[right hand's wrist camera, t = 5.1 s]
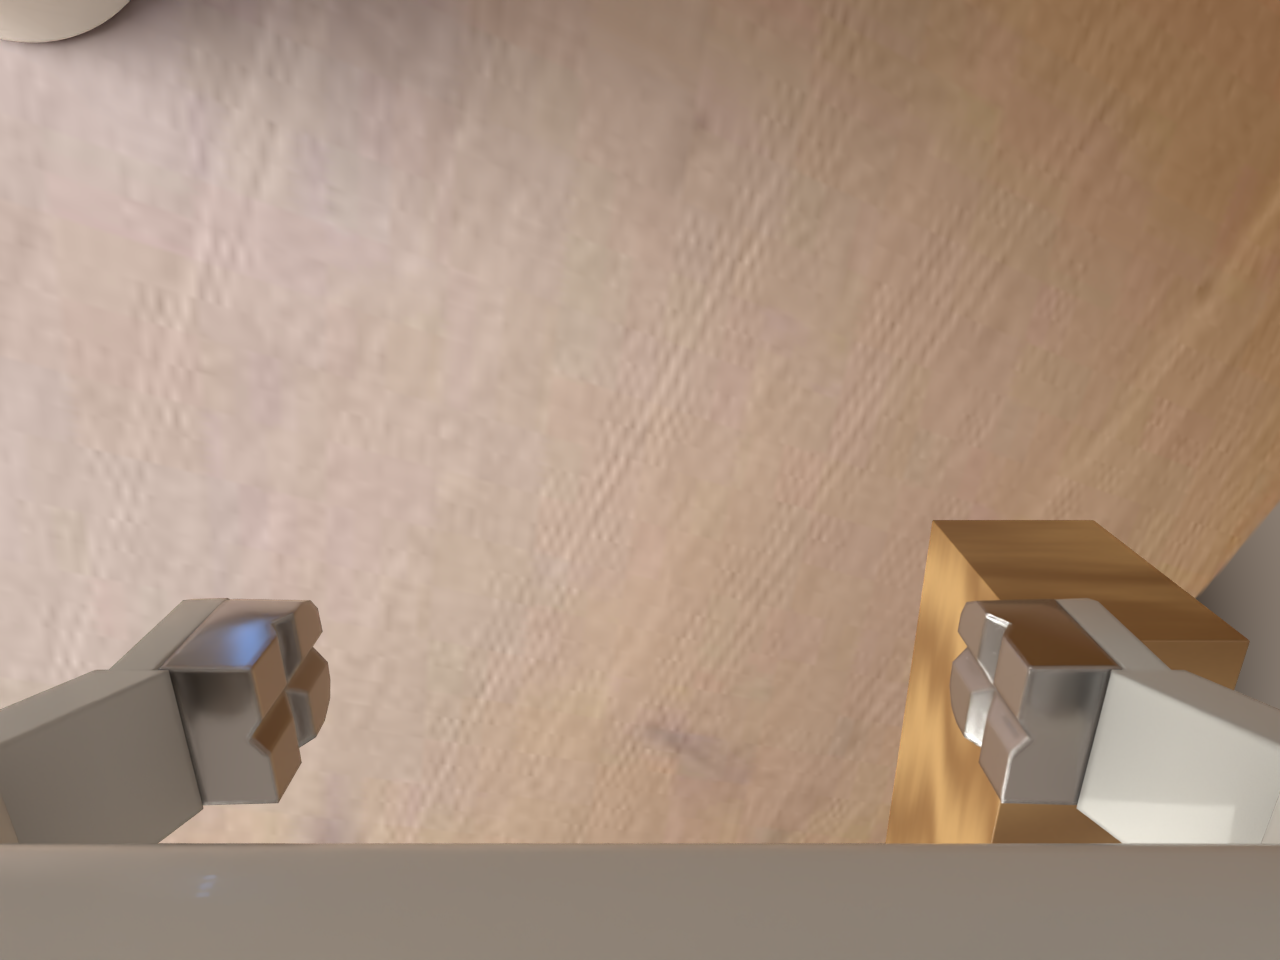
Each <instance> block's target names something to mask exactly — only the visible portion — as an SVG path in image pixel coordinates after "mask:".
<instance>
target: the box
mask: <svg viewBox="0 0 1280 960" xmlns="http://www.w3.org/2000/svg"><path fill="white" fill-rule="evenodd" d="M1071 598H1089V599H1093V600H1096V601H1098V602H1099V603H1101V604H1102V605H1103V606H1104V607H1105V608H1106V609H1107V610H1108V611H1109V612H1110V613H1111V614H1112V615H1113V616H1114V617H1115V618H1117V619H1118V620H1119V621H1120V622H1121V623H1122V624H1123V625H1124V626H1125V627H1126V628H1127V629H1128V630H1129V631H1130V632H1131V633H1133V634H1134V635H1135V636H1136V637H1137V638H1138V639H1139V640H1140V641H1141V642H1142V643H1143V644H1144V645H1145V646H1146V647H1147V648H1149V649H1150V650H1151V651H1152V652H1153V653H1154V654H1155V655H1156V656H1157V657H1158V658H1159V659H1160V660H1161V661H1162V662H1163V663H1165V664H1166V665H1167V666H1168V667H1169V668H1170V669H1171V670H1186V671H1188V672H1191V673H1193V674H1196V675H1198V676H1200V677H1203V678H1205V679H1208V680H1210V681H1212V682H1215V683H1217V684H1220V685H1222V686H1224V687H1227V688H1229V689H1232V690H1234V689H1235V686H1236V683H1237V680H1238V676H1239V673H1240V670H1241V667H1242V664H1243V661H1244V658H1245V655H1246V652H1247V649H1248V645H1249V642H1250V641H1249V640H1248V639H1247V638H1245V637H1244V636H1243V635H1242V634H1240V633H1239V632H1238V631H1236V630H1235V629H1234V628H1232V627H1231V626H1230V625H1229V624H1227V623H1226V622H1225V621H1223V620H1222V619H1221V618H1220V617H1218V616H1217V615H1216V614H1214V613H1213V612H1212V611H1210V610H1209V609H1208V608H1207V607H1205V606H1204V605H1203V604H1201V603H1200V602H1199V601H1197V600H1196V599H1195V598H1194V597H1192V596H1191V595H1190V594H1188V593H1187V592H1186V591H1184V590H1183V589H1182V588H1181V587H1179V586H1178V585H1177V584H1175V583H1174V582H1173V581H1172V580H1170V579H1169V578H1168V577H1166V576H1165V575H1164V574H1162V573H1161V572H1160V571H1159V570H1157V569H1156V568H1155V567H1153V566H1152V565H1151V564H1149V563H1148V562H1147V561H1146V560H1144V559H1143V558H1142V557H1140V556H1139V555H1138V554H1136V553H1135V552H1134V551H1133V550H1131V549H1130V548H1129V547H1127V546H1126V545H1125V544H1124V543H1122V542H1121V541H1120V540H1118V539H1117V538H1116V537H1114V536H1113V535H1112V534H1111V533H1109V532H1108V531H1107V530H1105V529H1104V528H1103V527H1101V526H1100V525H1099V524H1098V523H1096V522H1095V521H1093V520H933V521H932V528H931V535H930V542H929V548H928V555H927V562H926V569H925V576H924V583H923V590H922V597H921V603H920V610H919V617H918V624H917V631H916V638H915V645H914V651H913V658H912V665H911V672H910V679H909V686H908V693H907V699H906V706H905V713H904V720H903V727H902V734H901V741H900V747H899V754H898V761H897V768H896V775H895V782H894V789H893V795H892V802H891V809H890V816H889V823H888V830H887V837H886V843H1121V842H1120V841H1119V840H1117V839H1116V838H1115V837H1113V836H1112V835H1111V834H1109V833H1108V832H1107V831H1106V830H1104V829H1103V828H1102V827H1100V826H1099V825H1098V824H1096V823H1095V822H1094V821H1092V820H1091V819H1090V818H1088V817H1087V816H1086V815H1084V814H1083V813H1082V812H1080V811H1079V810H1078V809H1077V805H1052V804H1015V803H1002V802H1001V801H1000V799H999V797H998V795H997V794H996V792H995V790H994V789H993V787H992V785H991V783H990V782H989V780H988V778H987V776H986V775H985V773H984V771H983V770H982V768H981V766H980V764H979V763H978V762H979V757H980V751H981V748H980V747H979V746H977V745H976V744H974V743H973V742H971V741H969V740H968V739H966V738H965V737H964V736H963V734H962V732H961V731H960V729H959V727H958V725H957V723H956V720H955V717H954V714H953V711H952V708H951V698H950V687H949V684H950V676H951V669H952V662H953V661H954V660H955V659H956V658H957V657H958V656H959V655H960V654H961V653H962V652H963V651H964V650H965V649H966V648H967V646H966V644H965V642H964V641H963V639H962V638H961V636H960V635H959V633H958V632H957V631H958V626H959V620H960V615H961V612H962V610H963V608H964V606H965V604H966V602H971V601H987V600H1028V599H1071Z"/></svg>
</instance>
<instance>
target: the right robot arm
mask: <svg viewBox="0 0 1280 960" xmlns="http://www.w3.org/2000/svg"><path fill="white" fill-rule="evenodd" d="M129 1H130V0H0V39H2V40H7V41H15V42H30V43H36V42H50V41H58V40H62V39H67V38H71V37H74V36H77V35H80V34H82V33H85V32H87V31H90V30H92V29H94V28H95V27H97V26H99V25H101V24H103V23H104V22H106V21H107V20H109V19H110V18H112V17H113V16H114V15H115V14H116V13H118V12H119V11H120V10H121V9H122V8H123V7H124V6H125V5H126V4H127V3H128V2H129ZM322 632H323V631H322V626H321V622H320V617H319V612H318V608H317V607H316V606H315V605H314V604H313V603H312V601H311V600H268V599H228V598H208V599H189V600H183V601H182V602H181V603H180V604H179V605H178V606H177V607H175V608H174V609H173V610H172V611H171V612H170V613H169V614H168V615H167V616H166V617H165V618H164V619H163V620H162V621H161V622H159V623H158V624H157V625H156V626H155V627H154V628H153V629H152V630H151V631H150V632H149V633H148V634H147V635H146V636H144V637H143V638H142V639H141V640H140V641H139V642H138V643H137V644H136V645H135V646H134V647H133V648H132V649H131V650H129V651H128V652H127V653H126V654H125V655H124V656H123V657H122V658H121V659H120V660H119V661H118V662H117V663H116V664H115V665H113V666H112V667H111V668H110V669H109V670H94V671H92V672H89V673H87V674H84V675H82V676H80V677H77V678H75V679H72V680H70V681H67V682H65V683H63V684H60V685H58V686H55V687H53V688H51V689H48V690H46V691H43V692H41V693H39V694H36V695H34V696H31V697H29V698H27V699H24V700H22V701H19V702H17V703H15V704H12V705H10V706H7V707H5V708H3V709H0V960H1280V709H1277V708H1275V707H1272V706H1270V705H1267V704H1265V703H1263V702H1260V701H1258V700H1256V699H1253V698H1251V697H1248V696H1246V695H1244V694H1241V693H1239V692H1236V691H1234V690H1232V689H1229V688H1227V687H1224V686H1222V685H1220V684H1217V683H1215V682H1212V681H1210V680H1208V679H1205V678H1203V677H1200V676H1198V675H1196V674H1193V673H1191V672H1188V671H1186V670H1171V669H1170V668H1169V667H1168V666H1167V665H1166V664H1165V663H1163V662H1162V661H1161V660H1160V659H1159V658H1158V657H1157V656H1156V655H1155V654H1154V653H1153V652H1152V651H1151V650H1150V649H1149V648H1147V647H1146V646H1145V645H1144V644H1143V643H1142V642H1141V641H1140V640H1139V639H1138V638H1137V637H1136V636H1135V635H1134V634H1133V633H1131V632H1130V631H1129V630H1128V629H1127V628H1126V627H1125V626H1124V625H1123V624H1122V623H1121V622H1120V621H1119V620H1118V619H1117V618H1115V617H1114V616H1113V615H1112V614H1111V613H1110V612H1109V611H1108V610H1107V609H1106V608H1105V607H1104V606H1103V605H1102V604H1101V603H1099V602H1098V601H1096V600H1093V599H1089V598H1071V599H1028V600H987V601H971V602H966V604H965V606H964V608H963V610H962V612H961V615H960V620H959V626H958V631H957V632H958V633H959V635H960V636H961V638H962V639H963V641H964V642H965V644H966V646H967V648H966V649H965V650H964V651H963V652H962V653H961V654H960V655H959V656H958V657H957V658H956V659H955V660H954V661H953V662H952V669H951V676H950V684H949V687H950V698H951V708H952V711H953V714H954V717H955V720H956V723H957V725H958V727H959V729H960V731H961V732H962V734H963V736H964V737H965V738H966V739H968V740H969V741H971V742H973V743H974V744H976V745H977V746H979V747H980V748H981V751H980V757H979V762H978V763H979V764H980V766H981V768H982V770H983V771H984V773H985V775H986V776H987V778H988V780H989V782H990V783H991V785H992V787H993V789H994V790H995V792H996V794H997V795H998V797H999V799H1000V801H1001V802H1002V803H1015V804H1052V805H1077V809H1078V810H1079V811H1080V812H1082V813H1083V814H1084V815H1086V816H1087V817H1088V818H1090V819H1091V820H1092V821H1094V822H1095V823H1096V824H1098V825H1099V826H1100V827H1102V828H1103V829H1104V830H1106V831H1107V832H1108V833H1109V834H1111V835H1112V836H1113V837H1115V838H1116V839H1117V840H1119V841H1120V842H1121V843H788V844H487V843H486V844H485V843H484V844H482V843H481V844H480V843H479V844H478V843H476V844H475V843H474V844H473V843H472V844H471V843H469V844H468V843H467V844H466V843H159V842H160V841H162V840H163V839H164V838H166V837H167V836H168V835H169V834H171V833H172V832H173V831H175V830H176V829H177V828H179V827H180V826H181V825H183V824H184V823H185V822H187V821H188V820H189V819H191V818H192V817H193V816H195V815H196V814H197V813H199V812H200V811H201V810H203V805H227V804H263V803H279V801H280V799H281V797H282V796H283V794H284V792H285V790H286V789H287V787H288V785H289V783H290V782H291V780H292V778H293V777H294V775H295V773H296V771H297V770H298V768H299V766H300V764H301V763H302V762H301V757H300V751H299V748H300V747H301V746H303V745H304V744H306V743H307V742H309V741H311V740H312V739H314V738H315V737H316V736H317V734H318V732H319V731H320V729H321V727H322V725H323V723H324V721H325V718H326V713H327V709H328V705H329V701H330V674H329V667H328V662H327V661H326V660H325V659H324V658H323V657H322V656H321V655H320V654H319V653H318V652H317V651H316V650H315V649H314V648H313V646H314V644H315V643H316V641H317V639H318V638H319V636H320V635H321V633H322Z"/></svg>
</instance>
